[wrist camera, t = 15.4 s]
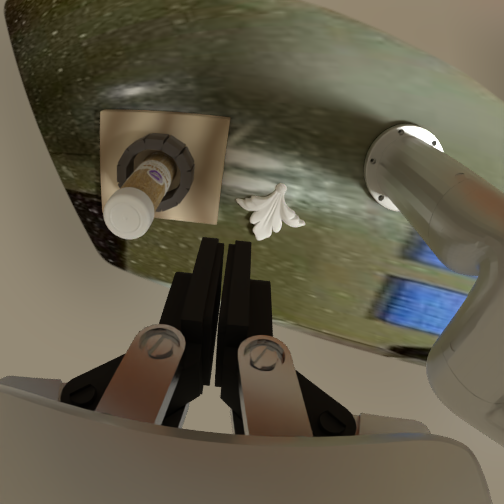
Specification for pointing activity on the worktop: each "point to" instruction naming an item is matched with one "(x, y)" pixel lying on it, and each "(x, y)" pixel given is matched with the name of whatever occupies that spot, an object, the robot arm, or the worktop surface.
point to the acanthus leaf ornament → (270, 212)
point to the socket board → (184, 129)
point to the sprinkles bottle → (140, 196)
